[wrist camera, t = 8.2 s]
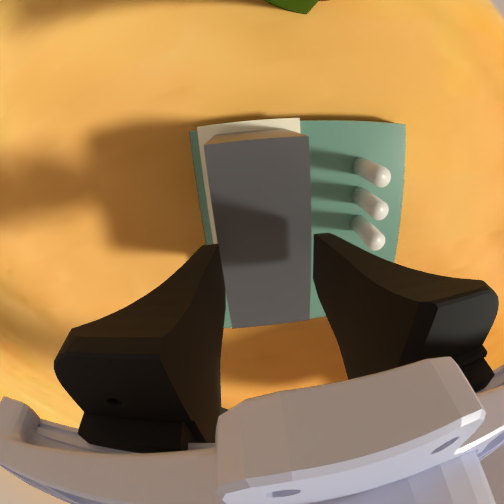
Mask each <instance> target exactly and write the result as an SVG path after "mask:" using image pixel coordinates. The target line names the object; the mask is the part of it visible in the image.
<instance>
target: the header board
mask: <svg viewBox="0 0 504 504" xmlns="http://www.w3.org/2000/svg"><path fill="white" fill-rule="evenodd" d="M268 129H287V130H290V131H294V132H297V133H300V134H304V135H307V136H309V152H310V177H311V293H310V319H311V318H318V317H325V316H326V314H325V312H324V309H323V307H322V305H321V303H320V300H319V298H318V295H317V291H316V288H315V284H314V281H313V244H314V234H319V233H331V234H334V235H336V236H338V237H340V238H342V239H344V240H346V241H348V242H350V243H351V244H353V245H355V246H357V247H359V248H361V249H363V250H365V251H367V252H369V253H371V254H374V255H376V256H378V257H380V258H383V259H385V260H387V261H390V262H393V263H394V260H395V254H396V247H397V241H398V234H399V226H400V218H401V208H402V198H403V186H404V169H405V124H399V123H390V122H377V121H357V120H300V118H280V119H264V120H251V121H240V122H231V123H222V124H214V125H206V126H199V127H197V130H192V131H189V132H190V140H191V148H192V155H193V162H194V169H195V176H196V183H197V189H198V196H199V202H200V209H201V215H202V221H203V227H204V233H205V239H206V244H207V245H210V244H218V243H217V236H216V230H215V223H214V217H213V210H212V203H211V196H210V189H209V182H208V175H207V168H206V160H205V153H204V144H205V143H207V142H208V141H209V140H210V139H211V138H212V137H213V136H214V135H218V134H226V133H235V132H245V131H256V130H268ZM230 327H232V324H231V319H230V313H229V308H228V302H227V296H226V311H225V320H224V328H230Z"/></svg>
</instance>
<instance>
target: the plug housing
mask: <svg viewBox="0 0 504 504" xmlns="http://www.w3.org/2000/svg"><path fill="white" fill-rule="evenodd" d="M204 153H205V160H206V168H207V175H208V182H209V189H210V196H211V203H212V210H213V217H214V223H215V230H216V236H217V243H218V245H219V251H220V257H221V263H222V270H223V276H224V282H225V288H226V296H227V302H228V308H229V313H230V319H231V324H232V329H233V328H244V327H255V326H264V325H273V324H282V323H290V322H297V321H305V320H309V319H310V293H311V177H310V152H309V136H307V135H304V134H300V133H297V132H294V131H290V130H287V129H268V130H256V131H245V132H235V133H226V134H218V135H214V136H213V137H212V138H211V139H210V140H209V141H208V142H207V143H205V144H204Z"/></svg>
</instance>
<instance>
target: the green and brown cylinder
mask: <svg viewBox="0 0 504 504" xmlns="http://www.w3.org/2000/svg"><path fill="white" fill-rule="evenodd" d="M265 1H267V2H269V3H271V4H273V5H275V6H278V7H280V8H283V9H286V10H290V11H293V12H298V13H302V14H307V13H308V12H309V11H310V10H311V9H312V7H313V6H314V5H315V4H316V3H317V2H318V1H327V0H265Z"/></svg>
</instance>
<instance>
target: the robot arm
mask: <svg viewBox="0 0 504 504" xmlns="http://www.w3.org/2000/svg"><path fill="white" fill-rule="evenodd" d="M313 281H314V284H315V288H316V291H317V295H318V298H319V300H320V303H321V305H322V307H323V309H324V312H325V314H326V316H327V318H328V321H329V323H330V325H331V327H332V330H333V332H334V334H335V337H336V339H337V342H338V344H339V347H340V350H341V354H342V357H343V361H344V364H345V368H346V372H347V376H348V380H344V381H340V382H334V383H329V384H324V385H318V386H312V387H306V388H299V389H292V390H285V391H278V392H274V393H270V394H266V395H262V396H258V397H254V398H249V399H245V400H244V401H242V402H241V403H239V404H238V405H236V406H234V407H233V408H231V409H229V410H228V411H226V412H225V413H223V414H222V413H221V386H220V357H221V346H222V337H223V329H224V320H225V311H226V288H225V282H224V276H223V270H222V263H221V257H220V251H219V245H218V244H210V245H203V246H201V247H200V248H199V249H198V250H197V251H196V252H195V253H194V255H193V256H192V257H191V258H190V259H189V260H188V261H187V262H186V263H185V264H184V265H183V266H182V267H181V268H179V269H178V270H177V271H176V272H175V273H174V274H173V275H172V276H171V277H169V278H168V279H167V280H166V281H165V282H164V283H162V284H161V285H160V286H158V287H157V288H156V289H154V290H153V291H151V292H150V293H149V294H147V295H146V296H144V297H142V298H140V299H139V300H137V301H135V302H134V303H132V304H130V305H129V306H127V307H125V308H123V309H121V310H119V311H117V312H115V313H113V314H110V315H108V316H106V317H103V318H101V319H99V320H96V321H93V322H90V323H87V324H84V325H82V326H79V327H76V328H72V329H71V331H70V333H69V334H68V336H67V338H66V340H65V342H64V343H63V345H62V347H61V349H60V351H59V353H58V355H57V356H56V358H55V360H54V370H55V373H56V376H57V378H58V380H59V382H60V383H61V385H62V386H63V387H64V389H65V390H66V391H67V392H68V394H69V395H70V396H71V397H72V398H73V400H74V401H75V402H76V403H77V404H78V405H79V406H80V408H81V409H82V410H83V411H84V415H83V418H82V421H81V424H80V427H79V429H77V428H73V427H69V426H65V425H61V424H57V423H54V422H50V421H47V420H43V419H40V418H39V416H38V415H37V414H36V413H35V412H34V411H33V410H32V409H31V408H30V407H29V406H28V405H26V404H25V403H22V402H20V401H17V400H14V399H11V398H8V397H3V398H2V401H1V403H0V466H2V467H3V468H5V469H6V470H7V471H9V472H10V473H12V474H13V475H15V476H16V477H18V478H19V479H21V480H23V481H24V482H26V483H28V484H29V485H31V486H33V487H35V488H37V489H39V490H41V491H43V492H46V493H48V494H50V495H52V496H54V497H57V498H59V499H61V500H63V501H66V502H68V503H71V504H504V365H502V366H500V367H499V368H497V369H495V370H493V371H492V369H491V368H490V366H489V365H488V363H487V362H486V361H485V359H484V357H486V355H487V350H486V349H485V348H484V346H483V345H482V344H483V342H484V341H485V339H486V337H487V335H488V333H489V331H490V329H491V327H492V325H493V323H494V320H495V318H496V315H497V311H498V305H499V302H498V296H497V294H496V293H495V292H494V291H493V290H492V289H491V288H490V287H489V286H488V285H487V284H486V283H485V282H484V281H482V280H472V279H460V278H452V277H446V276H439V275H434V274H430V273H425V272H422V271H418V270H414V269H411V268H407V267H404V266H401V265H398V264H396V263H393V262H390V261H387V260H385V259H383V258H380V257H378V256H376V255H374V254H371V253H369V252H367V251H365V250H363V249H361V248H359V247H357V246H355V245H353V244H351V243H350V242H348V241H346V240H344V239H342V238H340V237H338V236H336V235H334V234H331V233H319V234H314V244H313Z"/></svg>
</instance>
